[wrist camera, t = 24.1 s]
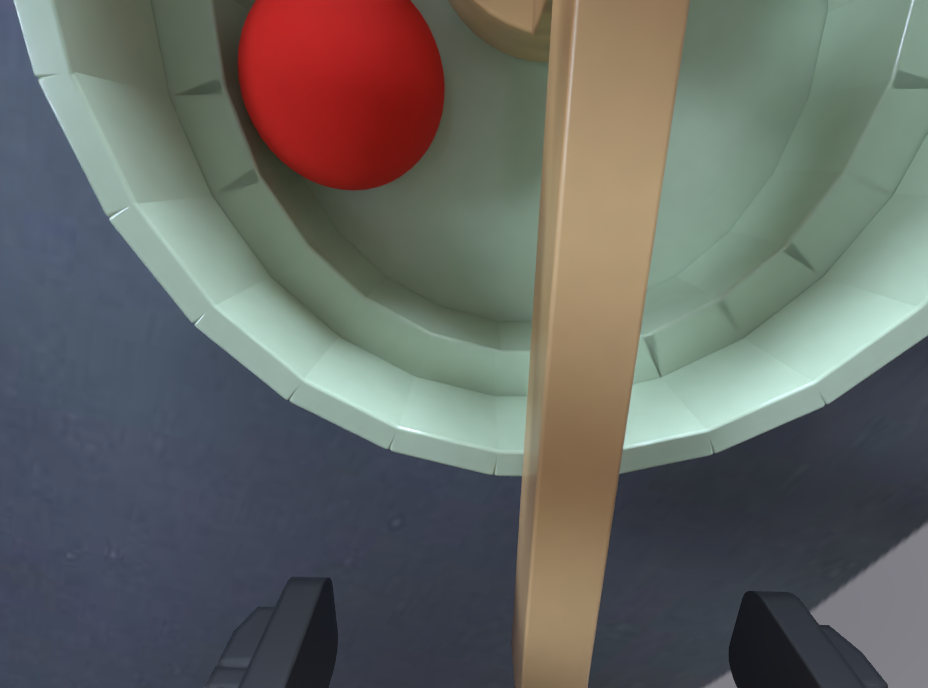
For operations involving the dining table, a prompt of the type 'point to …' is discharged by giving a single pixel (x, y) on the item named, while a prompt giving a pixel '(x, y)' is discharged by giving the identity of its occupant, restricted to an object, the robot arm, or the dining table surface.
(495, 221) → the mixing bowl
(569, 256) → the ladle
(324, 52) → the cherry tomato
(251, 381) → the dining table surface
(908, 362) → the dining table surface
